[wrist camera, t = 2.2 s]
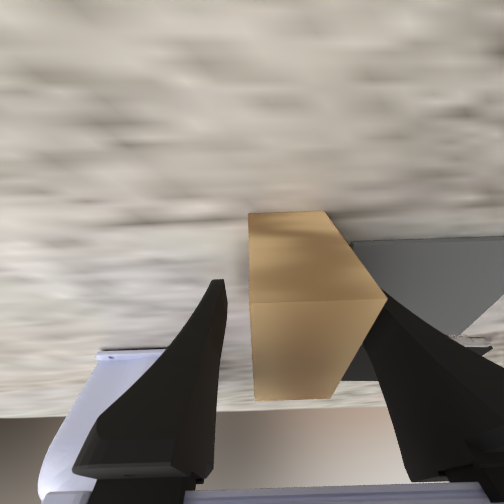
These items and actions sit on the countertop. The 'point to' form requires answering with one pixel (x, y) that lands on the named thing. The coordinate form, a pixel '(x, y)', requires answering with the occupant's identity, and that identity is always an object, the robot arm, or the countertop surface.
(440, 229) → the countertop surface
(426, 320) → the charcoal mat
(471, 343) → the smartphone
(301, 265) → the oak slab
